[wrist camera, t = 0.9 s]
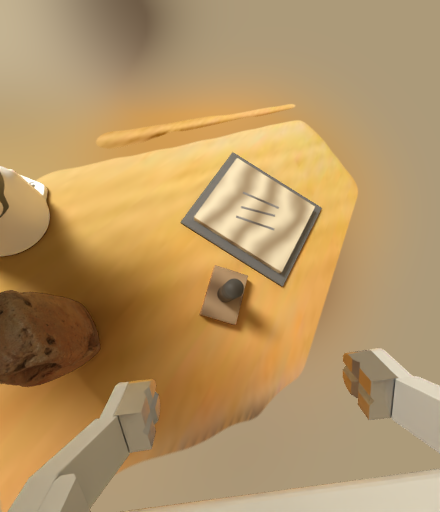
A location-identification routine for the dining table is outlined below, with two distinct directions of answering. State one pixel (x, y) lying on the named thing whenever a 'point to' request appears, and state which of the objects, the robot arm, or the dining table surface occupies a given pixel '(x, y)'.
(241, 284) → the sanding block
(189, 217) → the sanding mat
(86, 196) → the dining table surface
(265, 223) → the board
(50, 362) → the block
